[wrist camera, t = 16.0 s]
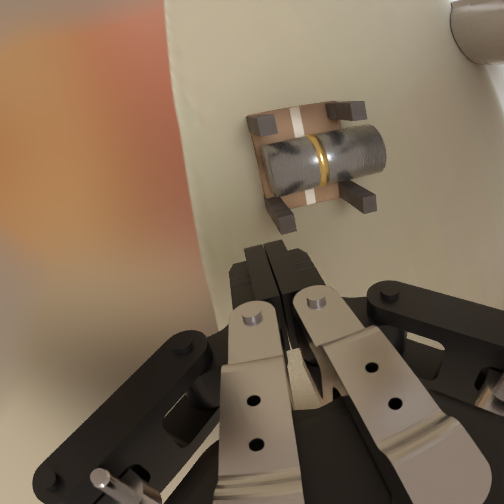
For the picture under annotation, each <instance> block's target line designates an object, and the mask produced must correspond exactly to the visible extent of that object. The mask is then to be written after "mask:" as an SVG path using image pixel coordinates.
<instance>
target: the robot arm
mask: <svg viewBox="0 0 504 504" xmlns="http://www.w3.org/2000/svg"><path fill="white" fill-rule="evenodd" d="M451 4H452V8H453V9H452V13H451V19H450V21H451V28H452V32H453V35H454V38H455V40H456V42H457V44H458V46H459V47H460V49H461V51H462V52H463V53H464V54H465V55H466V56H467V57H468V58H469V59H470V60H471V61H473V62H475V63H478V64H504V0H458V1H454V2H451ZM263 245H264V248H263V246H262V244H261V245H257V246H253V247H249V248H245V249H244V252H245V256H246V261H244V262H240V263H236V264H233V266H232V268H231V269H230V271H229V278H230V287H231V296H232V305H233V311H232V313H231V314H230V316H229V324H228V325H227V326H226V327H225V328H224V329H223V330H221V331H219V332H217V333H216V334H213V335H211V336H209V337H207V338H206V336H205V335H204V334H203V333H202V332H199V331H196V330H187V331H183V332H180V333H178V334H175V335H173V336H172V337H171V338H169V339H168V340H167V341H166V342H165V343H164V344H163V345H162V346H161V347H160V348H159V349H158V350H157V351H156V352H155V353H154V354H153V355H152V356H151V357H150V358H149V359H148V360H147V361H146V362H145V363H144V364H143V365H142V366H141V367H140V368H139V369H138V370H137V371H136V372H135V373H134V374H133V375H132V376H131V377H130V378H129V379H128V380H127V381H125V382H124V384H123V385H121V386H120V387H119V388H118V389H117V391H115V392H114V393H113V394H112V395H111V396H110V397H109V398H108V399H107V400H106V401H105V402H104V403H103V404H102V405H101V406H100V407H99V408H98V409H97V410H96V411H95V412H94V413H93V414H92V415H91V416H90V417H89V418H88V419H87V420H86V421H85V422H84V423H83V424H82V425H81V426H80V427H79V428H78V429H77V430H76V431H75V432H73V433H72V434H71V435H70V436H69V437H68V438H67V439H66V440H65V441H64V442H63V443H62V444H61V445H60V446H59V447H58V448H57V449H56V450H55V451H54V452H53V453H52V454H51V455H50V456H49V457H48V458H47V459H46V460H45V461H44V462H43V463H42V464H41V465H40V466H39V467H38V468H37V470H36V471H35V473H34V477H33V483H32V484H33V491H34V493H35V495H36V497H37V498H38V499H39V500H40V501H41V502H43V503H44V504H162V499H161V495H160V493H161V492H162V491H163V490H164V488H165V487H166V486H167V485H168V484H169V482H170V481H171V480H172V479H173V478H174V477H175V476H176V474H177V473H178V472H179V471H180V470H181V469H182V467H183V466H184V465H185V464H186V462H187V461H188V460H189V459H190V458H191V457H192V455H193V454H194V453H195V452H196V450H197V449H198V448H199V447H200V445H201V444H202V443H203V442H204V440H205V439H206V438H207V437H208V435H209V434H210V433H211V432H212V430H213V429H214V428H215V426H216V425H217V424H218V422H219V440H217V441H216V442H215V443H213V444H212V445H211V446H210V447H209V448H208V449H207V450H206V451H205V452H204V453H203V454H202V455H201V456H200V457H199V459H198V460H197V462H196V463H195V464H194V465H193V467H192V468H191V469H190V471H189V472H188V473H187V475H186V476H185V477H184V478H183V480H182V481H181V482H180V484H179V485H178V486H177V487H176V489H175V490H174V491H173V493H172V494H171V495H170V496H169V497H168V499H167V500H166V501H165V502H164V504H504V311H503V310H499V309H496V308H492V307H488V306H485V305H481V304H478V303H474V302H471V301H467V300H463V299H460V298H456V297H453V296H449V295H445V294H442V293H438V292H434V291H431V290H427V289H423V288H420V287H416V286H413V285H409V284H405V283H401V282H398V281H381V282H378V283H376V284H374V285H372V286H371V287H370V288H369V289H368V291H367V297H357V298H346V297H341V296H340V295H339V293H338V292H337V291H336V290H335V289H333V288H331V287H329V286H326V285H325V283H324V281H323V279H322V278H321V276H320V274H319V273H318V271H317V269H316V268H315V267H314V264H313V263H312V261H311V259H310V258H309V256H308V254H307V253H306V252H304V251H302V250H300V249H298V248H297V249H293V250H289V251H287V249H286V247H285V245H284V243H283V241H282V240H277V241H273V242H269V243H265V244H263ZM264 250H265V251H264ZM407 331H408V332H411V333H414V334H417V335H420V336H423V337H426V338H429V339H432V340H435V341H438V342H439V343H441V344H442V345H443V346H444V348H445V350H439V349H436V348H433V347H430V346H427V345H424V344H421V343H418V342H415V341H412V340H410V339H407ZM287 334H288V335H287ZM288 337H289V340H288ZM289 341H290V344H291V347H292V349H296V348H300V351H301V354H302V361H303V366H304V368H305V370H306V373H307V375H308V377H309V379H310V381H311V384H312V386H313V388H314V390H315V392H316V395H317V397H318V399H319V401H320V404H321V406H322V407H320V408H317V409H309V410H295V408H294V402H293V396H292V390H291V384H290V379H289V373H288V368H287V365H288V358H287V353H286V351H288V350H290V345H289ZM184 393H185V395H184V396H183V398H182V399H181V400H180V401H179V402H178V403H177V404H176V405H175V403H176V402H177V401H178V400H179V399H180V398H181V397H182V395H183V394H184ZM174 405H175V407H174V408H173V409H172V410H171V411H170V412H169V413H168V414H167V412H168V411H169V410H170V409H171V408H172V407H173V406H174ZM166 414H167V416H166V417H165V415H166ZM164 417H165V418H164Z"/></svg>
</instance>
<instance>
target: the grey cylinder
mask: <svg viewBox="0 0 504 504" xmlns="http://www.w3.org/2000/svg"><path fill="white" fill-rule="evenodd" d="M261 158H262V163H263V168H264V172H265V175H266V179H267V182H268V185H269V187H270V190H271V192H272V194H273V196H274V197H275V198H278V197H282V196H285V195H289V194H293V193H297V192H301V191H305V190H309V189H313V188H319V187H323V186H327V185H329V184H333V183H337V182H341V181H345V180H349V179H353V178H358V177H362V176H366V175H371V174H375V173H379V172H382V171H383V169H384V168H385V165H386V149H385V145H384V142H383V139H382V137H381V135H380V133H379V132H378V130H377V129H376V128H375V127H374V126H372V125H362V126H355V127H349V128H344V129H338V130H333V131H327V132H322V133H317V134H309V135H304V136H302V137H298V138H293V139H288V140H284V141H279V142H275V143H271V144H267V145H263V146H261Z"/></svg>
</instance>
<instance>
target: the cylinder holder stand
mask: <svg viewBox="0 0 504 504" xmlns="http://www.w3.org/2000/svg"><path fill="white" fill-rule="evenodd" d="M246 118H247V123H248V127H249V131H250V132H251V136H252V140H253V145H254V149H255V153H256V158H257V162H258V167H259V171H260V176H261V181H262V185H263V190H264V194H265V196H264V199H265V204H266V208H267V211H268V213H269V214H270V216H271V218H272V220H273V221H274V223H275V225H276V226H277V228H278V230H279V232H280V233H281V235H283V234H287V233H291V232H295V231H297V230H296V224H295V219H294V214H293V213H292V211H291V210H290V209H292V208H296V207H300V206H304V205H309V204H313V203H317V202H321V201H325V200H330V199H334V198H338V197H341V198H343V199H344V200H345V201H347V202H348V203H350V204H351V205H352V206H354V207H355V208H356V209H358V210H359V211H360V212H362V213H363V214H366V213H370V212H375V211H377V205H376V195H375V194H373V193H372V192H370V191H368V190H367V189H365V188H363V187H361V186H359V185H358V184H356V183H354V182H352V181H350V180H345V181H341V182H337V183H333V184H329V185H327V186H323V187H319V188H313V189H309V190H305V191H301V192H297V193H293V194H289V195H285V196H282V197H278V198H275V197H274V196H273V194H272V192H271V190H270V187H269V185H268V182H267V179H266V175H265V172H264V168H263V163H262V158H261V146H263V145H267V144H271V143H275V142H279V141H284V140H288V139H293V138H298V137H302V136H304V135H309V134H317V133H322V132H327V131H333V130H338V129H341V124H340V120H349V121H357V120H365V119H367V115H366V109H365V103H364V101H347V102H337V101H329V102H322V103H315V104H308V105H301V106H295V107H289V108H284V109H278V110H273V111H268V112H263V113H258V114H253V115H248V116H247V117H246Z"/></svg>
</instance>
